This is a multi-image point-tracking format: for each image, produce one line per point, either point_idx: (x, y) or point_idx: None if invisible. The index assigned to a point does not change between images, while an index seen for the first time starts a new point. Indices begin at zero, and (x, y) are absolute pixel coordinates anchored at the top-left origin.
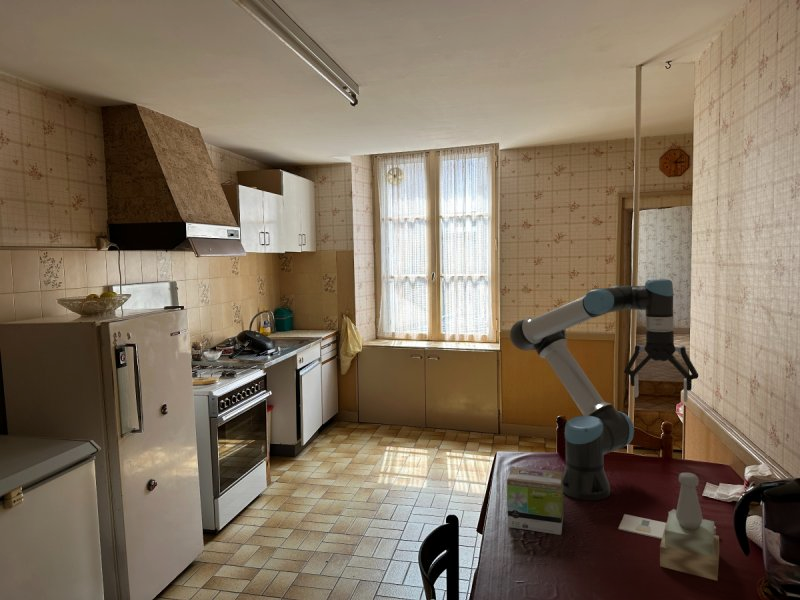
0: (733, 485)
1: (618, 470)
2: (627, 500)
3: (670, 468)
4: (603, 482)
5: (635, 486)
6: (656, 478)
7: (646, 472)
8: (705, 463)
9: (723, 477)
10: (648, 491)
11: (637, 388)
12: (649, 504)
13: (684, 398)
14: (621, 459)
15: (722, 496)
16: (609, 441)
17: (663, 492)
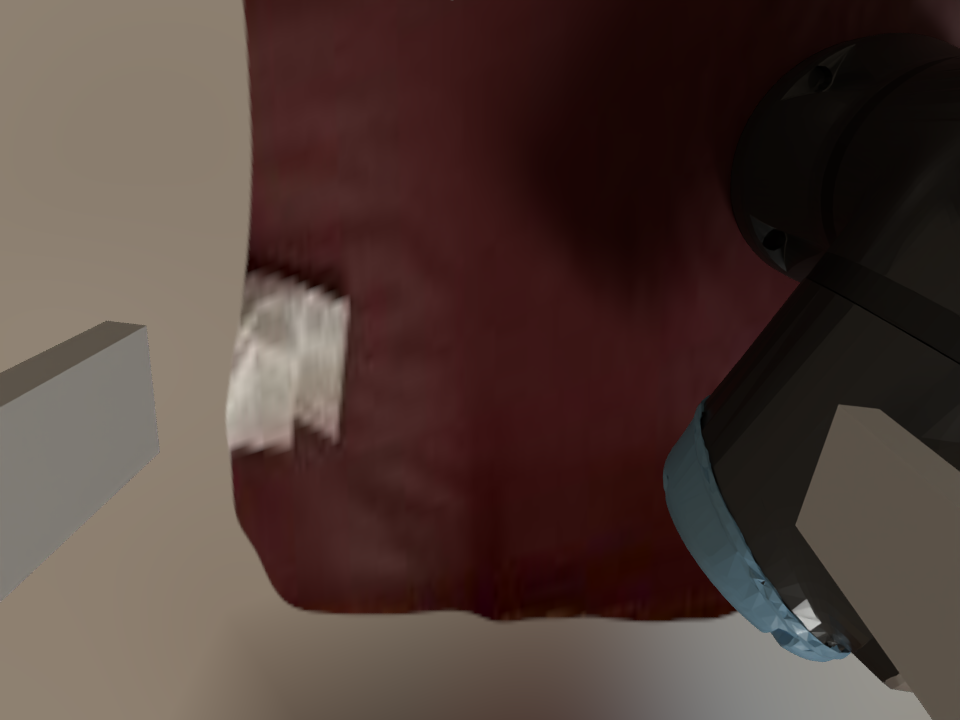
0: (243, 436)
1: None
2: (652, 127)
3: (468, 525)
4: (796, 118)
5: (611, 299)
6: (522, 412)
7: (561, 459)
8: (345, 604)
9: (279, 498)
10: (557, 264)
11: (908, 532)
12: (555, 120)
13: (104, 344)
14: (660, 560)
15: (274, 318)
16: (863, 241)
17: (495, 276)
